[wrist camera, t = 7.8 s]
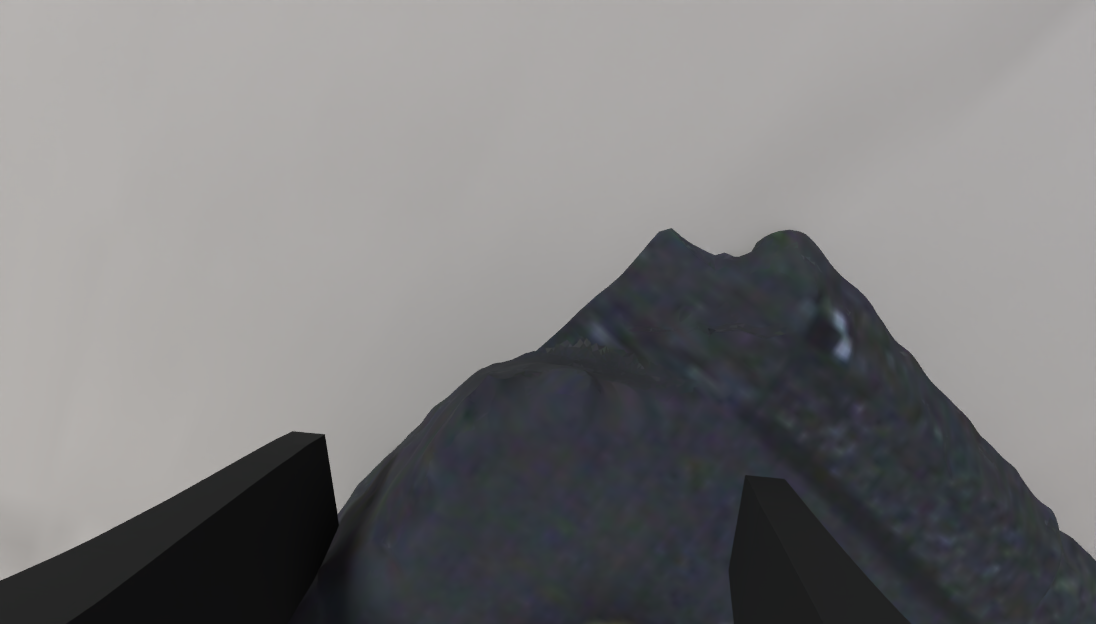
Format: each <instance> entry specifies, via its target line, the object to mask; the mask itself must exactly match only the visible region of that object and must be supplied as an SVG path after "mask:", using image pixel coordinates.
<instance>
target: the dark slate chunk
mask: <svg viewBox="0 0 1096 624" xmlns="http://www.w3.org/2000/svg"><path fill="white" fill-rule="evenodd" d="M745 475H750V476H760V477H771V478H781V479H785V480H786V481H787V482H788V484H789V485H790V486H791V487H792V488H793V489H794V491H795V492H796V493H797V494H798V495H799V497H800V498H801V499H802V500H803V501H804V503H805V504H806V505H807V506H808V508H809V509H810V510H811V511H812V512H813V514H814V515H815V516H816V517H817V518H818V520H819V521H820V522H821V523H822V525H823V526H824V527H825V528H826V529H827V530H828V532H829V533H830V534H831V535H832V536H833V538H834V539H835V540H836V541H837V542H838V544H839V545H840V546H841V547H842V548H843V549H844V551H845V552H846V553H847V554H848V555H849V556H850V558H851V559H852V560H853V561H854V562H855V563H856V564H857V565H858V567H859V568H860V569H861V570H862V571H863V572H864V573H865V574H866V576H867V577H868V578H869V579H870V580H871V581H872V582H873V583H874V585H875V586H876V587H877V588H878V589H879V590H880V591H881V592H882V594H883V595H884V596H885V597H886V598H887V599H888V600H889V601H890V602H891V603H892V604H893V605H894V606H895V607H896V608H897V610H898V611H899V612H900V613H901V614H902V615H903V616H904V617H905V618H906V619H907V620H908V621H909V622H910V623H911V624H1096V561H1095V560H1094V559H1093V558H1092V557H1091V555H1090V554H1089V553H1087V552H1086V551H1085V550H1084V549H1083V548H1082V547H1081V546H1080V545H1079V544H1078V543H1077V542H1076V541H1075V540H1074V539H1073V538H1071V537H1070V536H1068V535H1067V534H1065V533H1063V532H1061V531H1059V527H1058V523H1057V520H1056V517H1055V515H1054V513H1053V511H1052V510H1051V509H1050V508H1049V507H1047V506H1046V505H1044V504H1043V503H1042V502H1040V501H1039V500H1038V499H1037V498H1036V497H1035V496H1034V495H1033V494H1032V492H1031V491H1030V490H1029V488H1028V487H1027V485H1026V484H1025V483H1024V481H1023V480H1022V478H1021V477H1020V475H1019V473H1018V472H1017V470H1016V469H1015V468H1014V467H1013V466H1012V465H1011V464H1010V463H1008V462H1007V461H1006V460H1005V459H1004V458H1003V457H1002V456H1000V454H999V453H998V452H997V451H996V450H995V449H994V448H993V447H992V446H991V445H990V444H989V443H988V442H987V441H986V440H985V439H984V438H982V437H981V436H980V434H979V433H978V432H977V430H976V429H975V427H974V426H973V424H972V423H971V421H970V420H969V419H968V418H967V417H966V415H965V414H964V413H963V412H962V411H960V410H959V409H958V408H957V407H956V406H955V405H954V404H953V403H952V402H951V400H950V399H949V398H948V397H947V396H946V395H944V394H943V393H942V392H941V391H940V390H939V389H938V388H937V387H936V386H935V385H934V384H933V383H932V382H931V381H930V379H929V378H928V377H927V376H926V374H925V373H924V371H923V370H922V368H921V367H920V365H919V364H918V362H917V361H916V359H915V358H914V357H913V355H912V354H911V353H910V352H909V351H907V350H906V349H905V348H904V347H902V346H901V345H900V344H898V343H897V342H896V341H895V340H894V338H893V337H892V336H891V334H890V333H889V331H888V329H887V328H886V326H885V325H884V323H883V322H882V320H881V319H880V318H879V316H878V315H877V313H876V311H875V310H874V308H873V306H872V305H871V303H870V302H869V301H868V299H867V298H866V297H865V296H864V295H863V294H862V293H861V292H860V291H859V290H858V289H857V288H855V287H854V286H853V285H852V284H850V283H849V282H848V281H847V280H845V279H844V278H843V277H842V276H841V275H840V274H839V273H838V272H837V271H836V270H835V269H834V268H833V266H832V265H831V264H830V263H829V261H828V260H827V258H826V257H825V256H824V254H823V253H822V251H821V250H820V249H819V248H818V246H817V245H816V244H815V243H814V242H813V241H812V240H811V239H810V238H809V237H808V236H807V235H806V234H804V233H801V232H798V231H793V230H785V231H778V232H775V233H772V234H770V235H768V236H766V237H764V238H763V239H761V240H760V241H758V242H757V243H756V245H755V247H754V248H753V250H752V252H750V253H748V254H745V255H743V256H740V257H733V256H731V255H729V254H727V253H722V254H718V255H713V254H711V253H708V252H706V251H704V250H702V249H701V248H699V247H697V246H695V245H693V244H691V243H690V242H688V241H687V240H685V239H684V238H682V237H681V236H680V235H679V234H678V233H677V232H675V231H674V230H673V229H672V228H671V229H667V230H664V231H660V232H659V233H658V234H657V235H656V236H655V237H654V238H653V239H652V240H651V241H650V243H649V244H648V245H647V246H646V248H645V249H644V250H643V251H642V252H641V253H640V254H639V256H638V257H637V258H636V259H635V260H634V262H633V263H632V264H631V265H630V266H629V267H628V268H627V269H626V270H625V272H624V273H623V274H622V275H621V276H620V277H619V278H618V279H617V280H615V281H614V282H613V283H612V284H611V285H610V286H609V287H607V288H606V289H605V290H603V291H602V292H601V293H600V294H598V295H597V296H596V297H595V298H594V299H593V300H591V301H590V302H589V303H588V304H587V305H586V306H585V307H583V308H582V309H581V310H580V311H579V312H578V313H577V314H576V315H575V316H574V317H573V318H572V319H571V320H570V321H569V322H568V323H567V324H566V325H565V326H564V327H563V328H562V329H560V330H559V331H558V332H557V333H556V334H555V335H554V336H553V337H552V338H550V339H549V340H548V341H547V342H546V343H545V344H544V345H543V346H542V347H540V348H539V349H538V350H537V351H533V352H529V353H526V354H523V355H521V356H519V357H517V358H515V359H513V360H510V361H506V362H502V363H495V364H492V365H490V366H488V367H486V368H483V369H481V370H479V371H477V372H476V373H474V374H473V375H472V376H471V377H469V378H468V379H467V380H466V381H465V382H464V383H463V384H462V385H460V386H459V387H458V388H457V389H456V390H455V391H454V392H453V393H452V394H451V395H450V396H448V397H447V398H446V399H445V400H443V401H442V402H440V403H439V404H437V405H436V406H435V407H434V408H433V409H432V410H431V411H430V412H429V413H428V415H427V416H426V418H425V419H424V420H423V422H422V423H421V424H420V425H419V426H418V427H417V428H416V429H415V430H413V431H412V432H411V433H410V434H409V435H408V436H407V438H406V439H405V440H404V441H403V442H402V443H401V444H400V445H399V446H398V447H397V448H396V449H395V450H393V451H392V452H391V453H390V454H389V455H388V456H387V457H385V458H384V459H383V460H382V461H381V463H380V464H378V465H377V466H376V467H375V468H374V469H373V470H372V472H371V473H370V474H369V475H368V476H367V477H366V478H365V479H364V480H363V481H361V482H360V483H359V484H358V486H357V487H356V489H355V490H354V492H353V493H352V495H351V497H350V498H349V500H348V501H347V503H346V504H345V505H344V507H343V508H342V509H341V511H340V512H339V513H338V521H339V527H338V529H337V532H336V534H335V536H334V538H333V541H332V543H331V545H330V547H329V550H328V552H327V554H326V556H325V558H324V560H323V563H322V565H321V567H320V569H319V570H318V573H317V575H316V577H315V579H314V581H313V583H312V584H311V586H310V588H309V589H308V591H307V593H306V594H305V596H304V598H303V599H302V601H301V602H300V604H299V606H298V607H297V609H296V611H295V612H294V614H293V615H292V617H291V619H290V620H289V622H288V624H734V620H733V611H732V602H731V592H730V582H729V572H728V570H729V564H730V559H731V553H732V547H733V542H734V536H735V530H736V525H737V519H738V513H739V508H740V502H741V496H742V491H743V485H744V479H745Z"/></svg>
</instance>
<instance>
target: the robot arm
mask: <svg viewBox="0 0 1096 624" xmlns="http://www.w3.org/2000/svg"><path fill="white" fill-rule="evenodd" d="M338 527H339V521H338V515H337V509H336V502H335V496H334V490H333V483H332V477H331V471H330V464H329V458H328V452H327V445H326V439H325V434H314V433H304V432H293V431H292V432H290V433H288V434H286V435H284V436H282V437H280V438H278V439H276V440H274V441H272V442H270V443H268V444H266V445H265V446H263V447H261V448H259V449H257V450H256V451H254V452H252V453H250V454H248V455H247V456H245V457H243V458H241V459H239V460H238V461H236V462H234V463H232V464H231V465H229V466H227V467H225V468H224V469H222V470H220V471H218V472H216V473H215V474H213V475H211V476H209V477H208V478H206V479H204V480H202V481H200V482H199V483H197V484H195V485H193V486H191V487H190V488H188V489H186V490H184V491H183V492H181V493H179V494H177V495H175V496H174V497H172V498H170V499H168V500H166V501H164V502H162V503H160V504H159V505H157V506H155V507H153V508H151V509H149V510H147V511H145V512H143V513H141V514H139V515H137V516H136V517H134V518H132V519H130V520H128V521H126V522H124V523H122V524H120V525H118V526H116V527H114V528H113V529H111V530H109V531H107V532H105V533H103V534H101V535H99V536H97V537H95V538H93V539H91V540H89V541H87V542H85V543H83V544H81V545H79V546H77V547H74V548H72V549H70V550H68V551H66V552H64V553H62V554H60V555H57V556H55V557H53V558H51V559H49V560H46V561H44V562H42V563H40V564H37V565H35V566H33V567H31V568H28V569H26V570H24V571H22V572H19V573H17V574H15V575H13V576H10V577H8V578H6V579H3V580H1V581H0V624H288V622H289V620H290V619H291V617H292V615H293V614H294V612H295V611H296V609H297V607H298V606H299V604H300V602H301V601H302V599H303V598H304V596H305V594H306V593H307V591H308V589H309V588H310V586H311V584H312V583H313V581H314V579H315V577H316V575H317V573H318V570H319V569H320V567H321V565H322V563H323V560H324V558H325V556H326V554H327V552H328V550H329V547H330V545H331V543H332V541H333V538H334V536H335V534H336V532H337V529H338ZM728 572H729V582H730V592H731V602H732V611H733V620H734V624H911V623H910V622H909V621H908V620H907V619H906V618H905V617H904V616H903V615H902V614H901V613H900V612H899V611H898V610H897V608H896V607H895V606H894V605H893V604H892V603H891V602H890V601H889V600H888V599H887V598H886V597H885V596H884V595H883V594H882V592H881V591H880V590H879V589H878V588H877V587H876V586H875V585H874V583H873V582H872V581H871V580H870V579H869V578H868V577H867V576H866V574H865V573H864V572H863V571H862V570H861V569H860V568H859V567H858V565H857V564H856V563H855V562H854V561H853V560H852V559H851V558H850V556H849V555H848V554H847V553H846V552H845V551H844V549H843V548H842V547H841V546H840V545H839V544H838V542H837V541H836V540H835V539H834V538H833V536H832V535H831V534H830V533H829V532H828V530H827V529H826V528H825V527H824V526H823V525H822V523H821V522H820V521H819V520H818V518H817V517H816V516H815V515H814V514H813V512H812V511H811V510H810V509H809V508H808V506H807V505H806V504H805V503H804V501H803V500H802V499H801V498H800V497H799V495H798V494H797V493H796V492H795V491H794V489H793V488H792V487H791V486H790V485H789V484H788V482H787V481H786V480H785V479H781V478H771V477H760V476H750V475H745V479H744V485H743V491H742V496H741V502H740V508H739V513H738V519H737V525H736V530H735V536H734V542H733V547H732V553H731V559H730V564H729V570H728Z"/></svg>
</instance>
